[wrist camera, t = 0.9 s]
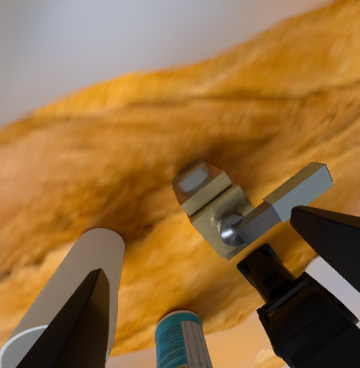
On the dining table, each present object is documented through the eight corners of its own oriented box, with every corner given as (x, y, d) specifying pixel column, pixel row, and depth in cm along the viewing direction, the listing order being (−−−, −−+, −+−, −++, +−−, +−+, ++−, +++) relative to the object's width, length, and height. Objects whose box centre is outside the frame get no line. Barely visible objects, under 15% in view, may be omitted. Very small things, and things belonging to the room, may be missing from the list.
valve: (246, 215, 26) (276, 242, 19) (214, 239, 26) (235, 273, 20) (202, 153, 22) (223, 162, 15) (165, 182, 22) (172, 202, 16)
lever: (312, 179, 17) (337, 186, 15) (227, 244, 18) (238, 261, 16) (301, 155, 16) (326, 159, 14) (210, 225, 17) (220, 240, 15)
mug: (63, 236, 22) (-30, 352, 10) (114, 218, 22) (78, 309, 11) (100, 290, 25) (60, 421, 14) (143, 273, 25) (139, 386, 14)
